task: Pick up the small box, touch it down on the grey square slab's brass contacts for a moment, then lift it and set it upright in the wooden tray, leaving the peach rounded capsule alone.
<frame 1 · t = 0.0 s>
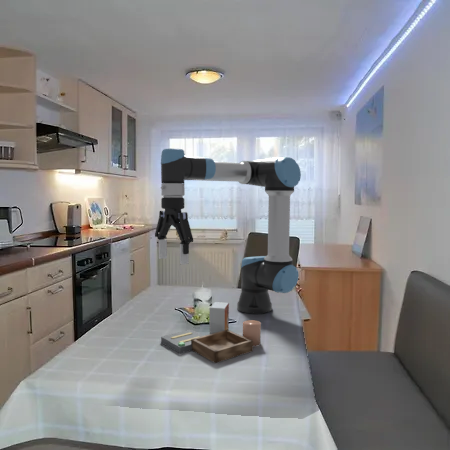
hand: (173, 261, 135), 28 cm above the table, fingers open, 13 cm apart
small box: (219, 334, 147), on the table
grey square slab: (185, 343, 137), on the table
wooden tray: (221, 350, 131), on the table
peach rounded capsule: (251, 343, 138), on the table
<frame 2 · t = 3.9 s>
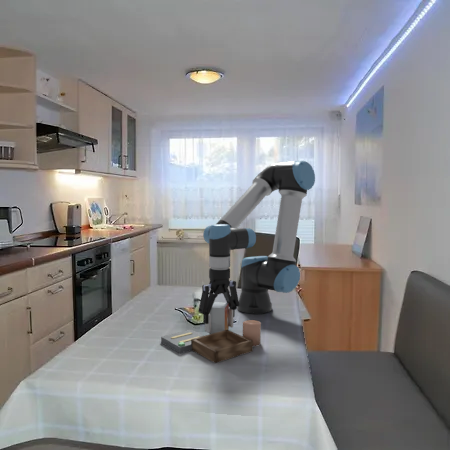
hand: (219, 329, 147), 2 cm above the table, fingers closed on small box, 9 cm apart
small box: (219, 334, 147), on the table, touching gripper
everything else where it was.
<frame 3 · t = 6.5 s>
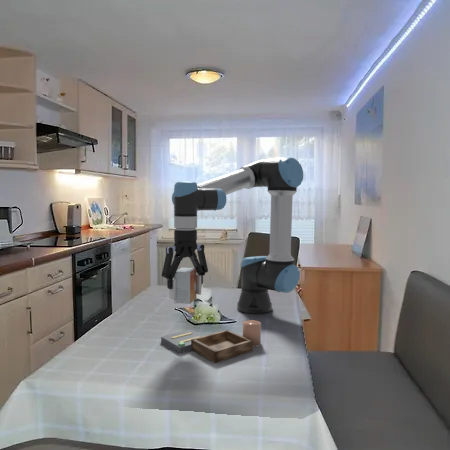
hand: (185, 296, 135), 16 cm above the table, fingers closed on small box, 9 cm apart
small box: (185, 301, 136), point 15 cm above the table, touching gripper
everything else where it was.
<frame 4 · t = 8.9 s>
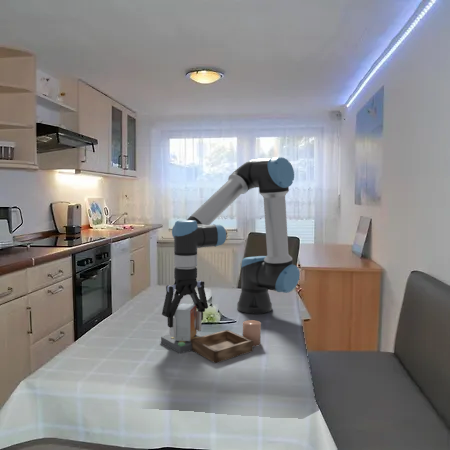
hand: (185, 333, 137), 4 cm above the table, fingers closed on small box, 9 cm apart
small box: (185, 337, 137), point 2 cm above the table, touching grey square slab, gripper
everything else where it was.
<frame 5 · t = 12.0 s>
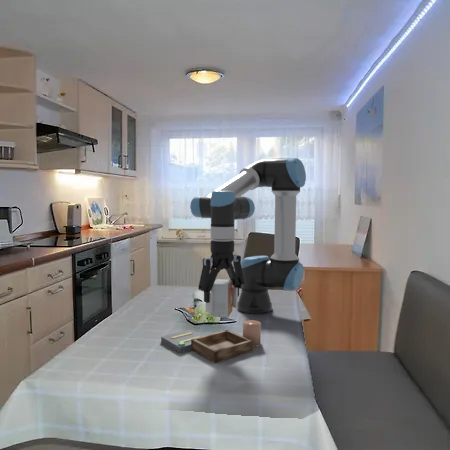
hand: (221, 309, 130), 14 cm above the table, fingers closed on small box, 9 cm apart
small box: (221, 314, 130), point 12 cm above the table, touching gripper
everything else where it was.
when the fingers open (4 cm above the table, at t = 14.4 s): small box drops 2 cm, resting on wooden tray.
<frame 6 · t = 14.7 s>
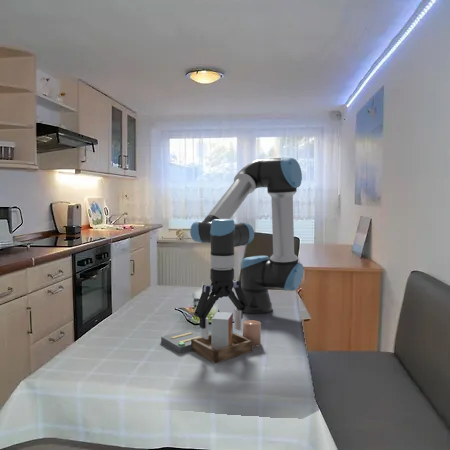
hand: (221, 333, 131), 6 cm above the table, fingers open, 13 cm apart
small box: (222, 347, 131), point 1 cm above the table, touching wooden tray
everything else where it was.
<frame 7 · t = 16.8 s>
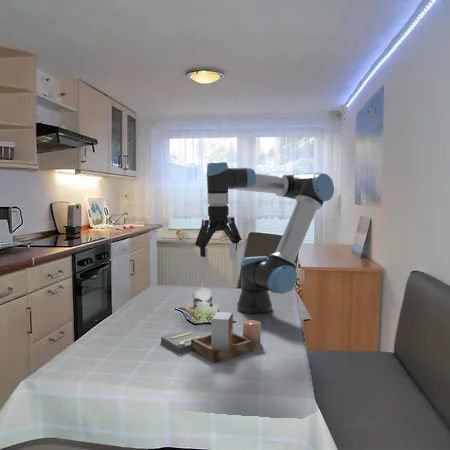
hand: (219, 262, 150), 25 cm above the table, fingers open, 13 cm apart
nothing on the table moved.
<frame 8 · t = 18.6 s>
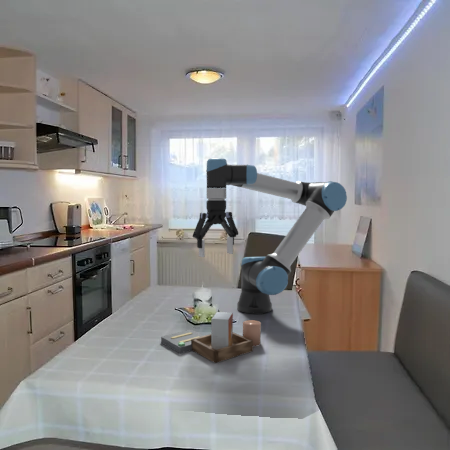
hand: (216, 255, 156), 27 cm above the table, fingers open, 13 cm apart
nothing on the table moved.
at the end: small box inside the target area on the wooden tray (0.2 cm from its centre), point 0.8 cm above the wooden tray's base; small box tilted 0°; the gripper is holding nothing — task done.
